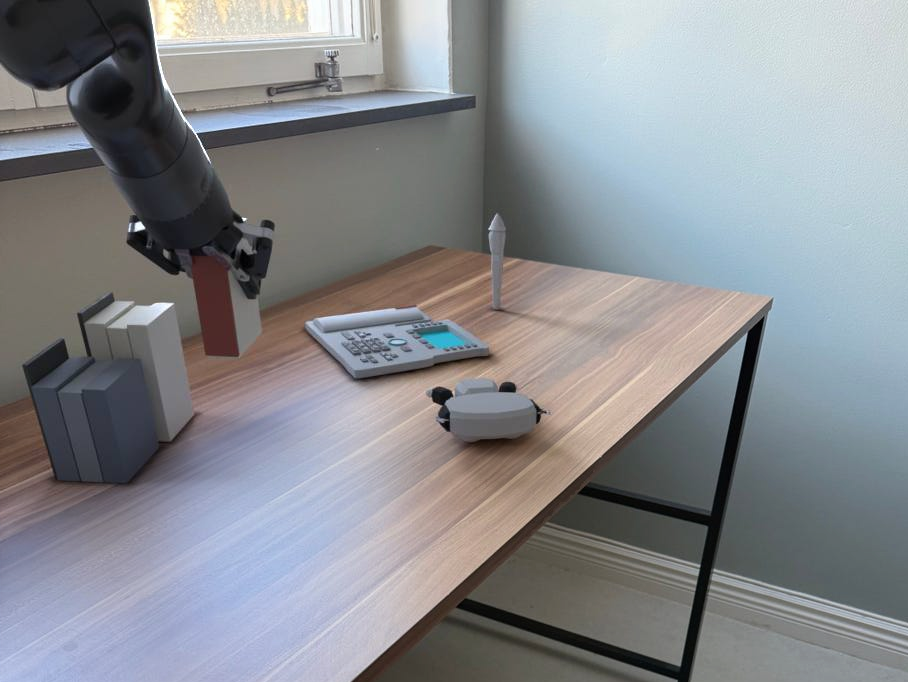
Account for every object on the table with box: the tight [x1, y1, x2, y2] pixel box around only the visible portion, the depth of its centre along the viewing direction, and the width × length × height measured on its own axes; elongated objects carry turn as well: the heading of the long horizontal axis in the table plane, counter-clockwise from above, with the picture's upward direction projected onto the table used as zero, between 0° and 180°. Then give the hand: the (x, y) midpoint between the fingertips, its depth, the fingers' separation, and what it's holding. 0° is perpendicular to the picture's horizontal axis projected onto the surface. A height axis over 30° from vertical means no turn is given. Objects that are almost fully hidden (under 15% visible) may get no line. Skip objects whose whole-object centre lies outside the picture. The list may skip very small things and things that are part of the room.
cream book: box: [191, 217, 263, 360], centre depth 88 cm, size 3×8×11 cm, turn 175°
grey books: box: [21, 337, 160, 484], centre depth 95 cm, size 8×9×12 cm
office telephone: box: [304, 304, 490, 379], centre depth 130 cm, size 23×3×20 cm
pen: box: [487, 212, 507, 311], centre depth 140 cm, size 2×3×14 cm
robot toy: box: [425, 377, 552, 443], centre depth 106 cm, size 12×4×15 cm
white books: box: [76, 291, 195, 443], centre depth 102 cm, size 7×8×14 cm
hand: (234, 289), depth 90 cm, fingers closed on cream book, 3 cm apart
